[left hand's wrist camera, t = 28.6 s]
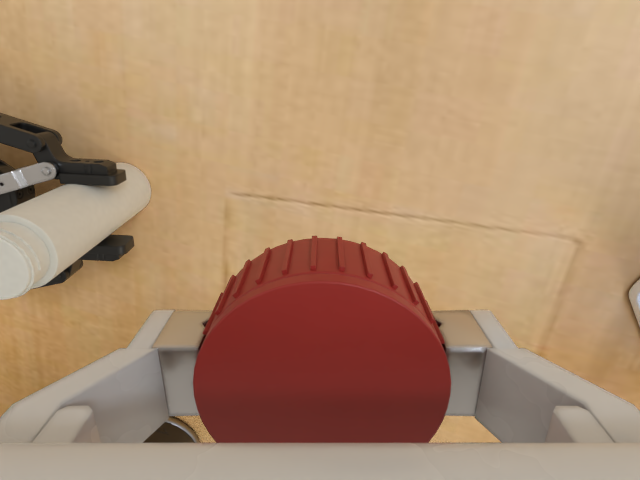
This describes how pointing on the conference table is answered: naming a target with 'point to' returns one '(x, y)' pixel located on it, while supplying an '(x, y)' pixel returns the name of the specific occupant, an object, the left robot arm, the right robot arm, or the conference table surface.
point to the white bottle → (63, 228)
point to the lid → (322, 351)
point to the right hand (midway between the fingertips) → (124, 212)
